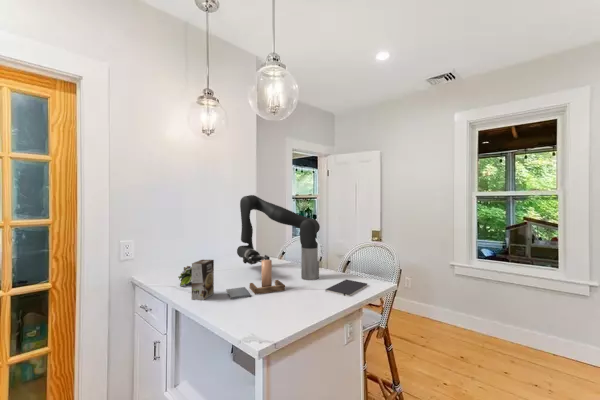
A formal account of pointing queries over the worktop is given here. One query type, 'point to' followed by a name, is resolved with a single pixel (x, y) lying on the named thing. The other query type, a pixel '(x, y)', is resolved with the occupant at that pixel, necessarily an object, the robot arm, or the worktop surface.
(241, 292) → the slate pad
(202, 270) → the coffee box
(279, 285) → the wooden u-shaped frame
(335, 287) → the notebook
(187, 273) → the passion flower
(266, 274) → the canister
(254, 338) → the worktop surface
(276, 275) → the worktop surface
